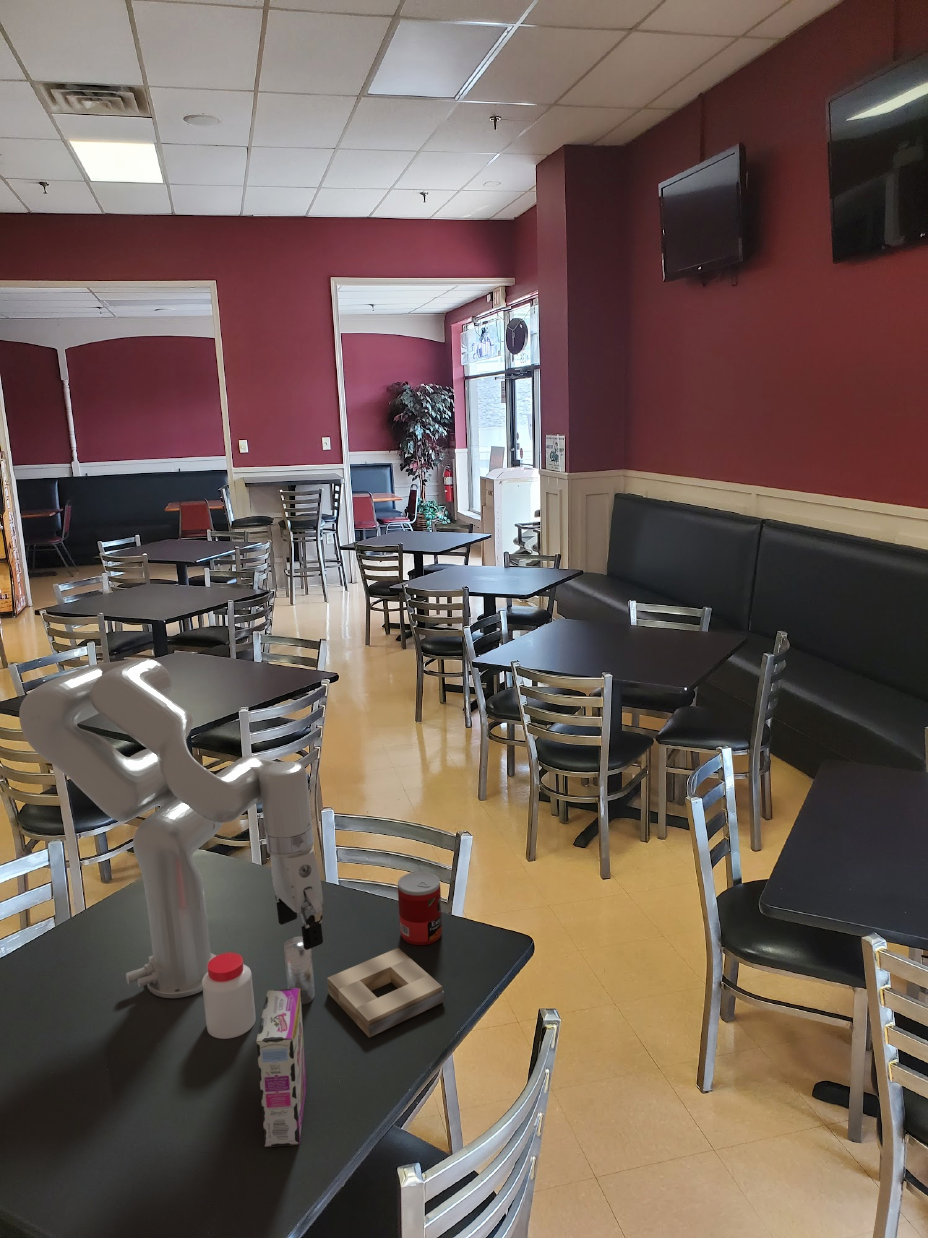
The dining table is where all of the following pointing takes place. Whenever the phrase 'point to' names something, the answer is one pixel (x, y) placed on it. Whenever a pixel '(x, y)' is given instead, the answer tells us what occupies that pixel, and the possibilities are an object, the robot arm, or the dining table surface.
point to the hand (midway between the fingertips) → (300, 933)
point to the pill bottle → (228, 996)
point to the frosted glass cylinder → (299, 968)
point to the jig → (392, 1007)
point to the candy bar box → (282, 1067)
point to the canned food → (420, 908)
